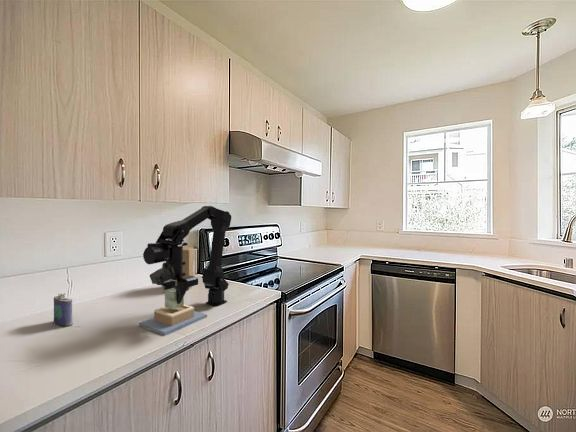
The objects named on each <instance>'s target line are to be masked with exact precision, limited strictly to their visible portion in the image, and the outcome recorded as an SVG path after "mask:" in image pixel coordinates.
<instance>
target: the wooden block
mask: <svg viewBox="0 0 576 432" xmlns="http://www.w3.org/2000/svg"><path fill="white" fill-rule="evenodd" d="M194 252H195V251H194V246H183V261H185V265H183V272H184V273H185V276H182V277H186V276H195V274H194V271H195V270H194V269H195V268H194V265H195V264H194V261H195V260H194V257H195V256H194V255H195V254H194ZM175 286H177V282H176V283H175ZM190 289H192V287H189V288H188V289H187V291H190Z"/></svg>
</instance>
